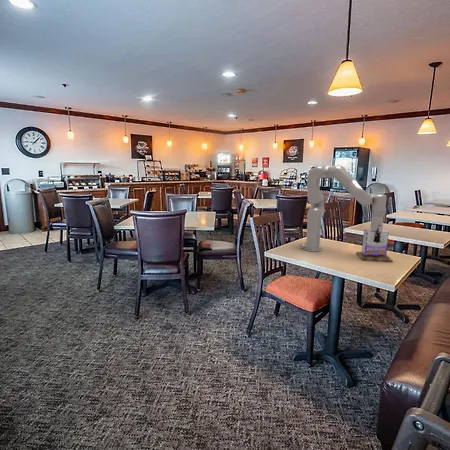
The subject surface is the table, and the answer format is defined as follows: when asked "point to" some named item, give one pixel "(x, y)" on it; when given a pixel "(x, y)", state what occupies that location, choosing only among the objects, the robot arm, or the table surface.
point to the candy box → (375, 243)
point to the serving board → (374, 258)
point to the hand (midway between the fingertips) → (375, 240)
